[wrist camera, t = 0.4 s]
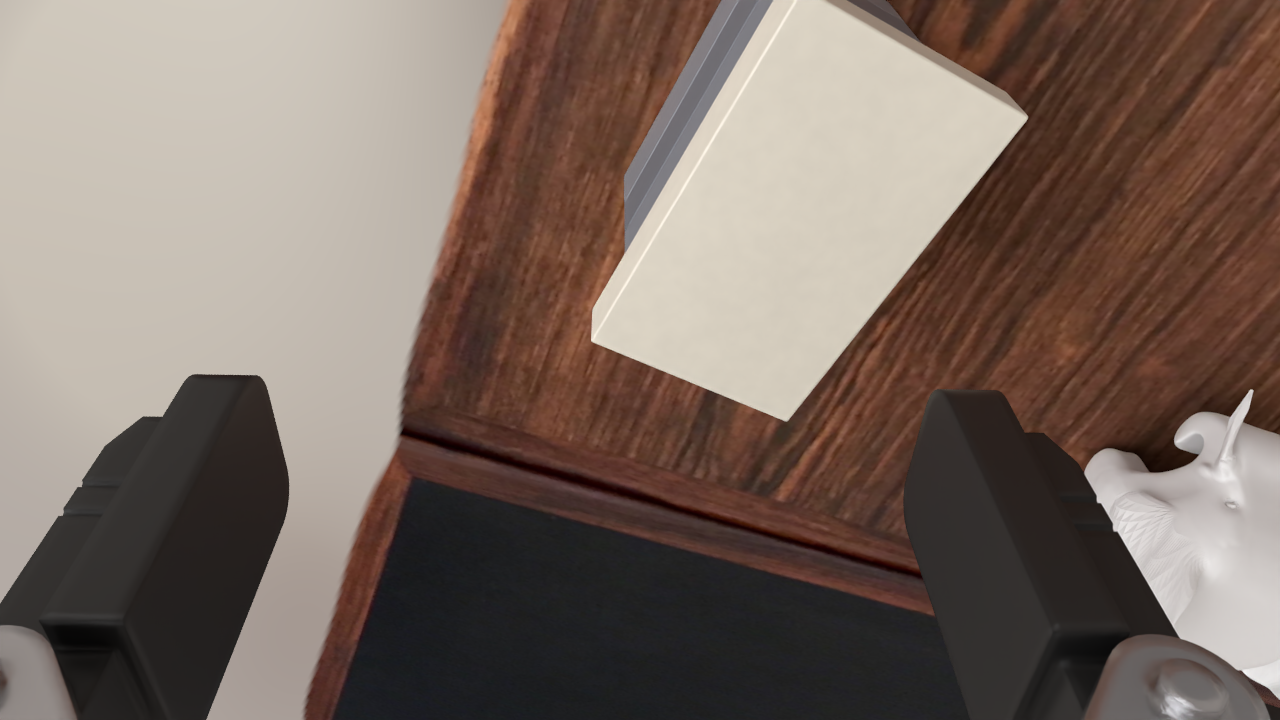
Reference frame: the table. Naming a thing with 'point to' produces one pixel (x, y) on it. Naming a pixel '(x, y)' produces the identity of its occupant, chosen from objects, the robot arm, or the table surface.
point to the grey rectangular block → (703, 99)
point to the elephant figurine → (1207, 536)
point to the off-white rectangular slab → (800, 203)
